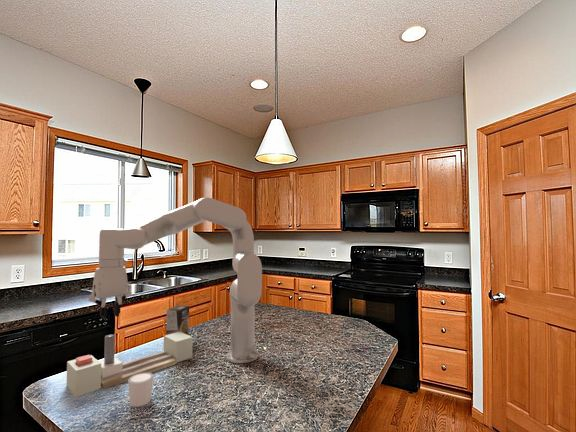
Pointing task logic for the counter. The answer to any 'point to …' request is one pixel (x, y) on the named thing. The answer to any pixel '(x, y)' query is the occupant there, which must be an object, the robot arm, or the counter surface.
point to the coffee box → (177, 320)
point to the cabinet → (178, 346)
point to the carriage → (110, 358)
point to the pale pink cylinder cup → (140, 389)
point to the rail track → (139, 368)
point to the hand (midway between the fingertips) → (110, 316)
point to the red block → (83, 360)
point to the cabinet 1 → (83, 377)
